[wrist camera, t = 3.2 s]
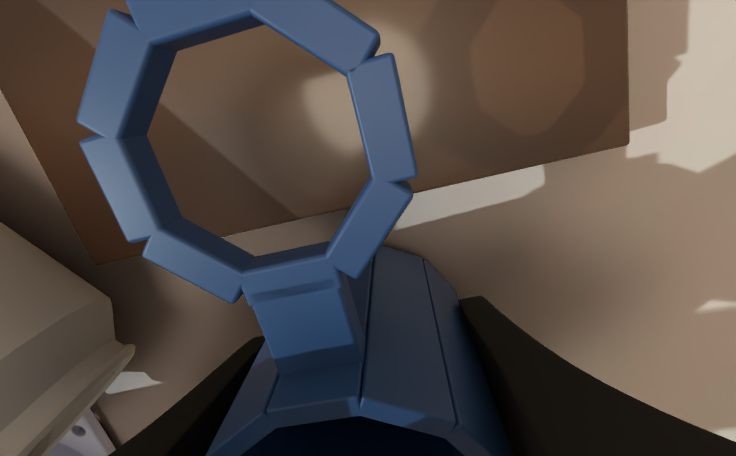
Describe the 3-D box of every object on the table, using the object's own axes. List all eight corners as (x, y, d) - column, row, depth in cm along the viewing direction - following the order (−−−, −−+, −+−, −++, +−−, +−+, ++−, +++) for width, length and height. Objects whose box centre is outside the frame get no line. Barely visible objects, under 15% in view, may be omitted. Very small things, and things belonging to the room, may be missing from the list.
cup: (469, 371, 12) (543, 615, 6) (317, 395, 13) (260, 634, 7) (401, 13, 9) (424, -159, 3) (199, 72, 9) (-98, 26, 4)
